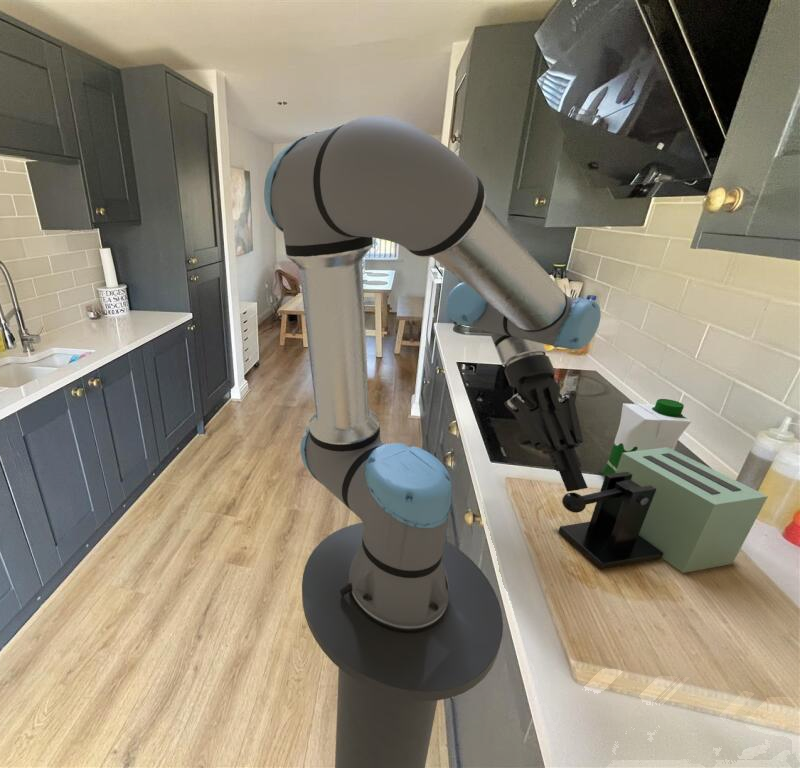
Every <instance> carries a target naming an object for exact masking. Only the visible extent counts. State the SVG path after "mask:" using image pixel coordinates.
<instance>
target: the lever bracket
mask: <svg viewBox="0 0 800 768" xmlns="http://www.w3.org/2000/svg"><path fill="white" fill-rule="evenodd" d="M631 478H632V474H631V473H629V472H621V473H614V474H607V475H605V477H604V479H603V482H602V485H601V487H600V491H599V492H601V491H606V490H610V489H614V487H615V483H616V482H620V481H625V480H629V479H630V480H631ZM655 492H656V488H654V487H652V486H651V485H650V486H643V487H636V488H629V489H628V490H627V492H626V495H625V498H624V501H623V500H621V499H620V498H618V497H617V498H613V499H608V500H604V501H600V502H595V506H594V510H593V511H592V515H591V518H590V521H586V522H585V521H584V522H580V523H573V524H567V525H560V526H559V528H558V534H560V535H561V536H562V537H563V538H564V539H565V540H567V541H568V543H570V544H571V545H572V546H573V547H574V548H575V549H576V550H578V551H579V552H580V553H581V554H582V555H583V556H584V557H585V558H587V559H588V560H589V561H590V562H591V563H592V564H593V565H594V566H595V567H597V569H599V570H600V571H603V570H607V569H615V568H619V567H627V566H631V565H637V564H643V563H649V562H655V561H658V560H659V561H660V560H662V559H663V558H662V556H663V554H664V553H663V552H661V551H660V550H658V549H657V548H656V547H654V546H653V545H652V544H650V543H649V542H648V541H646V540H645V539H643V538H642V537H641V536H639V532H640V530H641V527H642V525H643V522H644V520H645V517H646V515H647V512H648V510H649V507H650V504H651V502H652V499H653V497H654V494H655ZM619 511H620V512H619Z"/></svg>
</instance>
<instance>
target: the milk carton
mask: <svg viewBox="0 0 800 768" xmlns="http://www.w3.org/2000/svg"><path fill="white" fill-rule="evenodd" d="M684 407H685V405H684V404H683V403H682V402H679V401H677V400H673V399H668V398H667V399H666V398H659V399H657V400H656V402H655V404H651V403H639V402H638V403H637V402H636V403H622V407H621V415H620V421H619V425H618V429H617V432H616V435H615V439H614V442H613V445H612V448H611V451H610V454H609V457H608V460H607V462H606V465H605V467H604V469H603V472H602V476H603V477H604V478H605V475H607V474H614V473H616V470H617V467H618V464H619V461H620V458H621V455H622V453H625V452H633V451H640V450H648V449H656V448H664V447H668V448H670V449H673V450H675V449H676V447H677V444H678V442H679V440H680V437H681V436H682V434H684V432H685V431H686V429H688V427H689V426H690V424H691V423H692V421H691V420H690V419H688V417H686V416H684V415H683V414H682V413H683V411H684Z"/></svg>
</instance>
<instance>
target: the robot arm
mask: <svg viewBox="0 0 800 768" xmlns="http://www.w3.org/2000/svg"><path fill="white" fill-rule="evenodd" d="M263 198H264V199H263V201H264V206H265V210H266V212H267V215H268V217H269V219H270V221H271V223H272V224H273V225H275V227H276V228H277V229H278V230H279V231H280V232H282V233H283V240H284V246H285V247H284V248H285V255H286V258H287V259H289V260H290V261H291V262H292V263H293V264H295V265H296V266H297V268H298V270H299V271H298V272H299V277H300V278H299V279H300V288H301V295H302V304H303V305H302V306H303V311H304V312H303V313H304V321H305V330H306V339H307V346H308V355H309V356H308V357H309V363H310V373H311V381H312V389H313V399H314V406H315V413H314V415H312V416H311V418H310V419H309V421H308V426H307V427H306V429H305V432H306V433H305V435H302V438H301V441H300V456H301V461H302V463H303V465H304V466H305V468H306V469H307V471H308V472H309V473H310V475H311V476H312V477H313V478H314V479H315V480H316V481H317V482H318V483H320V484H321V485H322V486H323V487H324V488H325V489H327V491H329V492H330V493H331V494H332V495H333V496H334V497H336V498H337V499H338V500H339V501H340V502H341V503H342V504H343V505H345V506H346V507H347V508H348V509H349V510H350V511H351V512H352V513H353V514H354V515H356V516H357V517H358V518H359V519H360V520H361V523H363V538H362V543H361V545H360V547H359V549H358V551H357V553H356V554H355V556H354V558H353V560H352V563H351V566H350V570H349V580H348V585H346V586H345V587H344V588H342V589H341V590H340V593H341V594H342V595H345V594H346V593H348V592H349V591H350V594H351V597H352V599H353V601H354V603H355V604H356V606H357V607H358V609H359V610H360V611H361V612H362V613H363V614H364V615H365V616H366V617H367V618H369V619H370V620H371V621H373V622H374V623H376V624H378V625H380V626H382V627H384V628H386V629H389V630H392V631H396V632H402V633H417V632H422V631H425V630H428V629H430V628H432V627H434V626H435V625H436V624H438V623H439V622H440V621H441V619H442V618H443V617H444V615H445V613H446V610H447V605H448V599H449V589H448V588H449V586H448V580H447V579H446V578H447V574H446V575H445V572H446V570H445V571H444V567H443V564H442V560H441V559H442V553H443V547H444V541H445V540H446V535H447V529H448V523H449V517H450V515H451V512H452V506H453V502H452V499H453V498H452V491H453V489H452V488H453V485H452V479H451V476H450V473H449V471H448V470H447V468H446V466H445V465H444V464H443V462H441V461H440V460H439V459H438V458H437V457H436V456H435V455H433V454H432V453H430V452H428V451H427V450H425V449H423V448H420V447H417V446H414V445H413V446H411V447H410V446H408V445H407V444H406V443H399V442H398V443H397V442H396V443H395V442H393V443H384V442H382V440H381V427H380V425H381V424H380V419H379V418H380V417H379V416H378V415H377V413H376V412H374V411H373V410H371V409H370V396H369V378H368V377H369V376H368V375H369V373H368V359H367V358H368V357H367V356H368V355H367V335H366V317H365V316H366V314H365V299H364V298H365V293H364V277H363V276H364V275H363V274H364V273H363V272H364V271H363V260H364V257H365V256H366V255H367V254H368V253H369V252H370V250H371V249H372V248H373V246H374V240H373V239H378V240H383V241H387V242H391V243H394V244H398V245H400V246H401V247H403V248H405V249H406V250H407V251H409V252H410V254H412V255H414V256H416V257H419V258H433V259H434V260H435V261H436V262H438V264H440V265H442V266H443V267H444V268H445V269H446V270H447V271H449V272H450V273H451V274H452V275H454V276H455V277H456V278H457V279H458V280H460V282H459V283H458V284H457V285H456V286H454V287H453V288H452V290H451V291H449V294H448V295H447V298H446V302H445V311H446V315H447V316H448V317H449V319H451V320H452V321H453V322H455V323H458V324H459V325H460V326H465V327H469V328H472V329H476V330H480V331H482V332H485V333H489V334H490V337H491V340H492V343H493V345H494V348H495V349H496V353H497V355H498V358H499V361H500V363H501V365H502V367H503V368H504V374H505V376H506V380H507V381H508V384H509V386H510V387H511V388H513V389H512V394H513V395H512V397H510V399H507V400H506V401H505V402H504V406H505V408H506V409H508V411H510V412H511V413H512V414H513V416H514V417H515V419H516V421H517V422H518V424H519V425H520V427H521V429H522V430H523V431H524V434H525V435H526V437H527V438H528V440H529V441H530V443H531V445H532V446H533V448H534V449H535V450H536V451H538V452H541V451H542V454H544V455H548V456H549V458H550V461H551V463H552V465H553V468H554V470H555V471H556V472H559V475H560V477H561V480H562V482H563V485H564V488H565V490H566V492H567V493H569V492H574V491H581V490H585V489H588V487H589V486H588V485H587V482H586V480H585V477H584V475H583V473H582V471H581V468H582V463H581V461H580V459H579V457H578V454H577V452H576V448H578V447H579V446H580V445H581V444H583V443H584V438H583V433H582V429H581V424H580V420H579V416H578V410H577V406H576V400H577V393H576V391H574V390H570V391H567V390H565V389H562V387H561V385H560V383H558V381H556V379H555V374H556V370H555V367H554V366H553V363H552V361H551V359H550V357H549V356H548V355H546V354H547V353H548V352H547V349H546V347H545V345H547V346H551V347H553V348H555V349H556V348H563V349H567V350H571V351H572V350H573V351H574V350H575V351H576V350H581V349H583V348H584V347H586V346H587V345H588V344H589V343H591V341H592V339H593V338H594V336H595V335H596V332H597V330H598V328H599V325H600V322H601V316H602V315H601V314H602V313H601V307H600V304H598V303H597V302H596V301H595V300H590V299H585V298H582V297H579V296H578V297H571V296H568V295H567V293H565V292H564V291H563V289H562V288H561V287H560V286H559V285H558V284H557V283H556V281H555V280H554V279H553V278H552V277H551V276H550V275H549V274H548V272H547V271H546V270H545V269H544V267H542V265H541V264H540V263H539V262H538V261H537V260H536V259H535V258H534V257H533V255H532V254H531V253H530V252H529V251H528V250H527V249H526V248H525V246H524V245H523V244H522V242H520V241H519V239H518V238H517V237H516V235H514V234H513V233H512V231H511V230H510V229H509V228H508V227H507V226H506V225H505V224H504V223H503V221H502V220H501V219H500V218H499V217H498V216H497V214H496V213H494V211H493V210H492V209H491V208H490V207H489V206H488V204H486V200H487V193H486V188H485V185H484V183H483V181H482V180H481V179H480V178H479V177H478V175H477V174H476V173H475V172H474V171H473V170H472V169H471V167H469V166H468V164H466V163H465V161H464V160H463V159H462V158H461V157H460V156H459V155H457V154H456V153H455V152H454V151H452V149H450V147H447V146H446V145H445V144H444V143H442V142H441V141H440V140H439V139H437V138H436V137H435V136H433V135H431V134H430V133H428V132H426V131H425V130H423V129H421V128H420V127H417V126H416V125H413V124H410V123H409V122H407V121H405V120H402V119H398V118H394V117H391V116H388V115H387V116H385V115H367V116H361V117H358V118H355V119H352V120H350V121H348V122H346V123H343V124H341V125H340V124H339V125H337V126H333V127H330V128H327V129H324V130H321V131H318V132H315V133H312V134H308V135H304V136H302V137H300V138H299V139H298V140H295V141H294V142H292V143H291V144H289V145H287V146H286V147H284V148H283V149H282V150H281V151H279V152H278V154H277V155H276V157H275V158H274V159H273V161H272V162H271V164H270V166H269V168H268V171H267V173H266V176H265V181H264V187H263Z"/></svg>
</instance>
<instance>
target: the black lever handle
mask: <svg viewBox="0 0 800 768" xmlns="http://www.w3.org/2000/svg"><path fill="white" fill-rule="evenodd" d="M636 487H642V486H640V485H638V484H637V483H635V482H633V481H632V480H630V479H629V480H625V481H620V482H616V483H615V487H614V489H610V490H606V491H601V492H600V491H597V492H593V493H589V494H584V495H581V494H579V493H577V492H567V493H566V494H564V495H563V497H562V498H561V503H562V506H563V507H564V508H565V509H566V510H567V511H568V512H571V513H576V514H577V513H581V512H583V511H584V510H585V509H586V507H587V505H591V504H596V502H600V501H604V500H608V499H613V498H617V497H618V498H620V499H621V500H623V501H624V498H625V495H626V492H627V490H628V489H629V488H636Z"/></svg>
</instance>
